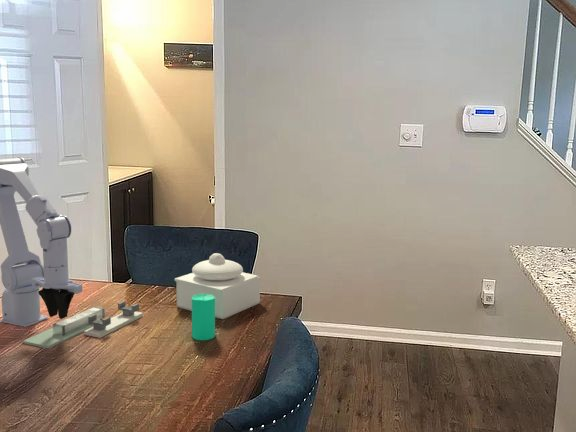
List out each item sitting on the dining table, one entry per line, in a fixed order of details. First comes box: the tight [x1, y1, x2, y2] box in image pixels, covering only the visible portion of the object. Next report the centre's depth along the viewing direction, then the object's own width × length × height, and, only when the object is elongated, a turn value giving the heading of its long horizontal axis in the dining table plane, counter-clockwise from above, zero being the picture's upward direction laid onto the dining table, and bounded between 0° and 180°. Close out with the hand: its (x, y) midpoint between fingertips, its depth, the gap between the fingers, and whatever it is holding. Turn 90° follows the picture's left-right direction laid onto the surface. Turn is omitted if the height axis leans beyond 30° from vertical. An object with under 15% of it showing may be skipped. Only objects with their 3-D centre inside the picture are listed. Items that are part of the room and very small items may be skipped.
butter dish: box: [174, 252, 261, 320], centre depth 186 cm, size 18×18×16 cm
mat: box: [22, 324, 93, 350], centre depth 161 cm, size 8×16×1 cm, turn 157°
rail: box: [52, 305, 106, 336], centre depth 167 cm, size 3×16×3 cm, turn 156°
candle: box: [191, 291, 216, 341], centre depth 162 cm, size 6×6×12 cm
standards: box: [83, 300, 144, 339], centre depth 169 cm, size 5×18×4 cm, turn 157°
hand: (58, 316), depth 161 cm, fingers open, 3 cm apart
